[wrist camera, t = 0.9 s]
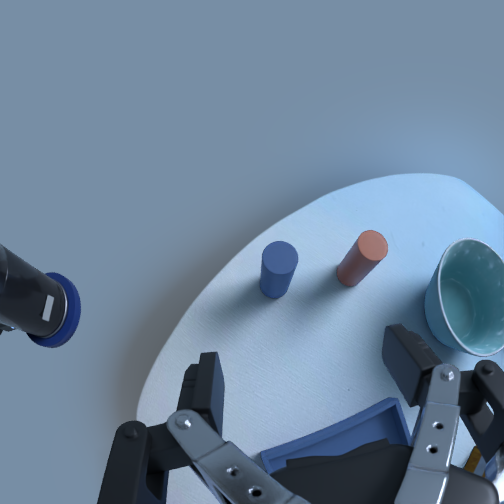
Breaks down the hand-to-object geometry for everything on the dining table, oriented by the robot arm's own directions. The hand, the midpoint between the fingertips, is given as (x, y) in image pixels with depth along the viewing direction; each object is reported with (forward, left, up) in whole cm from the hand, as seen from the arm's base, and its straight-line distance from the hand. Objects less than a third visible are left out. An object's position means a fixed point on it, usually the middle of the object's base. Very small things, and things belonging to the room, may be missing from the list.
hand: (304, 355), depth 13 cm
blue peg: (+4, +10, -22) cm, 25 cm away
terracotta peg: (+14, +8, -22) cm, 27 cm away
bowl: (+27, -3, -23) cm, 35 cm away
